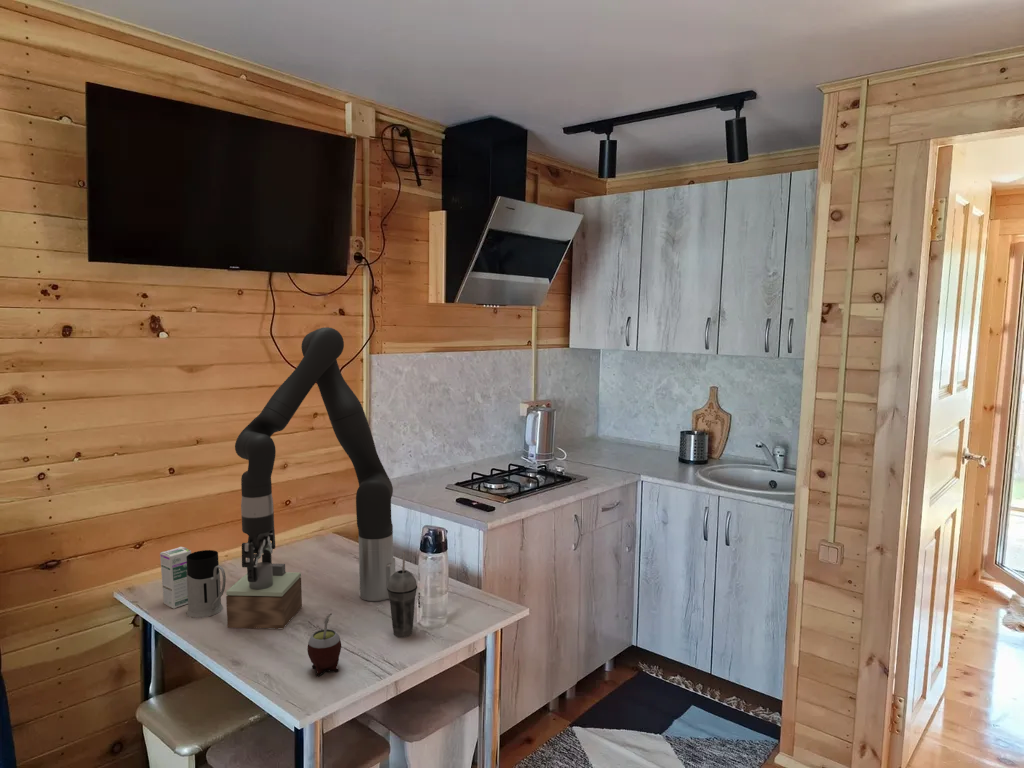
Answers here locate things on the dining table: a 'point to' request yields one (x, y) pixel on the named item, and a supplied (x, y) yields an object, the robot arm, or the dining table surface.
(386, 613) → the dining table surface
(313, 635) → the mate gourd
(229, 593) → the lid
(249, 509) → the robot arm
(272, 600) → the storage box
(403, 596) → the beverage cup
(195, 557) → the glass holder
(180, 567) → the syrup box
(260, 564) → the grey rounded cylinder
